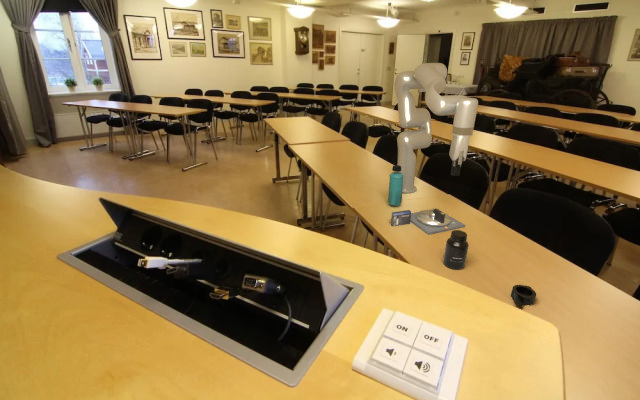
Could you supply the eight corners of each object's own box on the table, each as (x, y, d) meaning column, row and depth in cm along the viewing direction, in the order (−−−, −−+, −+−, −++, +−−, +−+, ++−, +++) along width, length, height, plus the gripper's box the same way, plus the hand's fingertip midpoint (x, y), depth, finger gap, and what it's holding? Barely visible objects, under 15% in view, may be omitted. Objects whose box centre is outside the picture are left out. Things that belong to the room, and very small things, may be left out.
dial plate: (403, 216, 143) (403, 214, 142) (436, 210, 148) (436, 208, 148) (428, 234, 127) (428, 232, 127) (464, 227, 133) (465, 224, 132)
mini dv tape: (392, 226, 135) (393, 213, 132) (390, 225, 136) (391, 212, 134) (410, 224, 136) (411, 211, 134) (408, 222, 138) (409, 209, 135)
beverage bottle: (401, 209, 151) (405, 168, 143) (387, 208, 152) (389, 167, 144) (401, 203, 156) (404, 164, 149) (387, 202, 158) (389, 163, 150)
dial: (410, 214, 142) (411, 203, 140) (438, 210, 145) (439, 199, 143) (427, 228, 129) (429, 216, 127) (457, 224, 133) (459, 212, 130)
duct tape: (497, 293, 94) (499, 285, 93) (525, 288, 97) (527, 280, 95) (518, 311, 88) (520, 303, 86) (547, 305, 90) (550, 296, 89)
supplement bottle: (453, 272, 104) (459, 240, 99) (438, 261, 110) (443, 230, 105) (469, 267, 107) (475, 235, 102) (453, 257, 112) (458, 226, 108)
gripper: (449, 126, 132) (442, 168, 140) (455, 135, 119) (448, 181, 127) (468, 127, 131) (461, 169, 139) (477, 135, 118) (468, 182, 125)
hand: (454, 175), depth 133 cm, fingers closed
